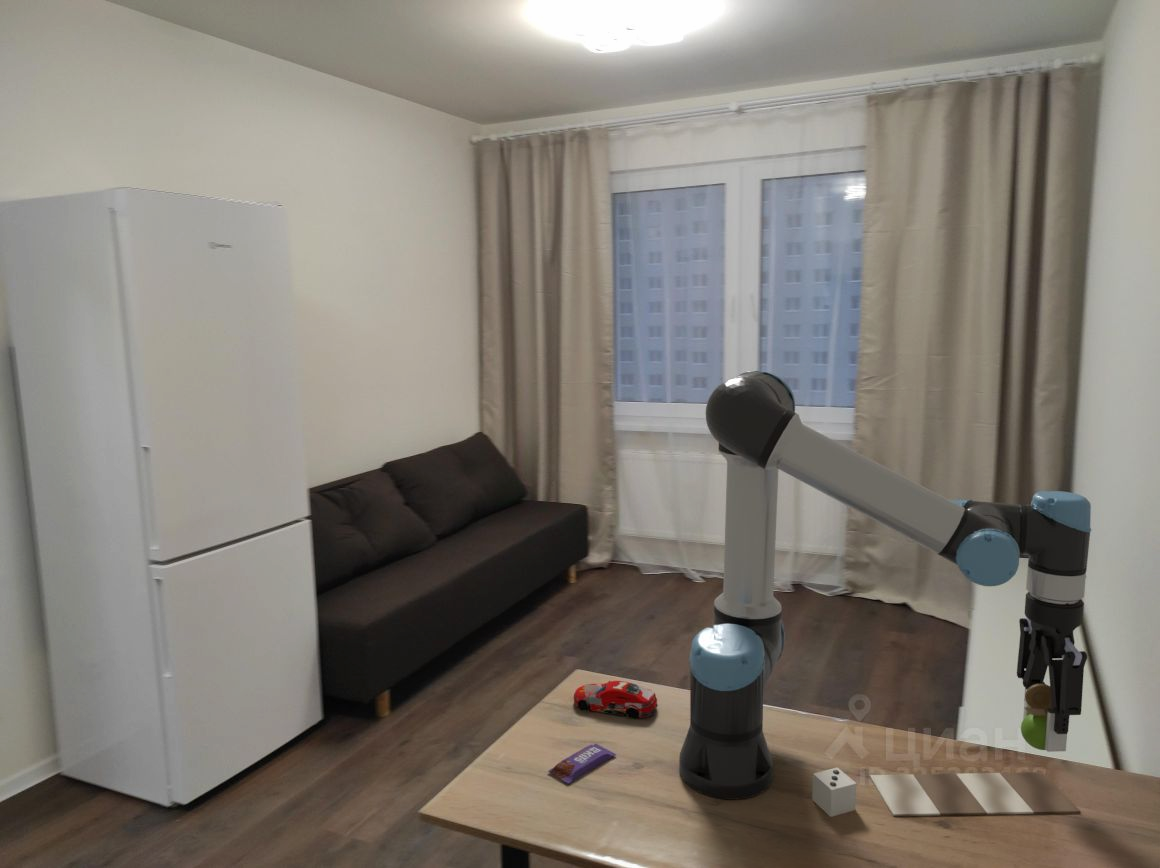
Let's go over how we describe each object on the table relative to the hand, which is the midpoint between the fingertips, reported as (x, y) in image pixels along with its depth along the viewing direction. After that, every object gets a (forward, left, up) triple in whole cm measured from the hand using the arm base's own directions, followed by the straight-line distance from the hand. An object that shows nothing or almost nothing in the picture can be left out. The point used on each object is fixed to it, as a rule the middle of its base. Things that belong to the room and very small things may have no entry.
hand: (1043, 738), depth 123 cm
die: (-33, -2, -9) cm, 34 cm away
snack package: (-71, +10, -10) cm, 73 cm away
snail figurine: (0, 0, -2) cm, 2 cm away
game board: (-11, 0, -9) cm, 14 cm away
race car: (-65, +29, -10) cm, 72 cm away
